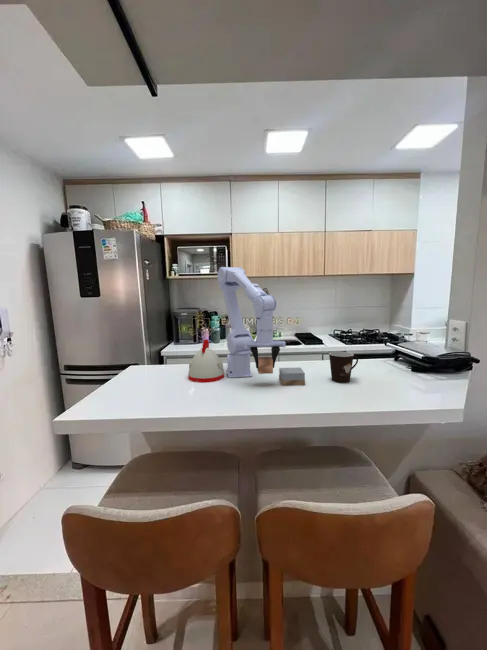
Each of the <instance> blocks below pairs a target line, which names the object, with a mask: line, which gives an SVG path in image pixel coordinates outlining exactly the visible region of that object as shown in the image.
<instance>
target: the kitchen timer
mask: <svg viewBox="0 0 487 650" xmlns="http://www.w3.org/2000/svg"><path fill="white" fill-rule="evenodd" d="M188 365H189V366H188V374H187V375H188V379H189V381H190V382H193V383H214V382H218V381H221V380H223V379H224V378H225V371H224V365H223V359H222V358H220V357H219V355H218V354H217V353H216V352H215V351H214V350H212V349H211V348H210V341H209V339H203V343H202V347H201V348H200V349H199V350H198V351H197V352H196V353H195V355H194V356H193V358H192V359H191V360H190V361H189V364H188Z"/></svg>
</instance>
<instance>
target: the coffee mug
mask: <svg viewBox="0 0 487 650" xmlns="http://www.w3.org/2000/svg"><path fill="white" fill-rule="evenodd" d="M328 355H329V365H330V366H329V367H330V374H331V381H332V382H334V383H339V384H347V383H350V382H351V376H352V370H353V369H354V368H355V367H356V366H357V365H358V363H359V362H358V361H359V357H358V356H357V355H354V353H352V352H348V351H332V352H329V353H328ZM354 358H355V359H356V361H355V363H354V364H353V362H354Z"/></svg>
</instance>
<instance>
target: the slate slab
mask: <svg viewBox="0 0 487 650" xmlns="http://www.w3.org/2000/svg"><path fill="white" fill-rule="evenodd" d="M279 374H280V377H281V379H282V380H305V376H306V375H305V372H304V370H303V369H302V368H301V367H299V366H298V367H279ZM279 374H278V375H279ZM305 381H306V380H305Z"/></svg>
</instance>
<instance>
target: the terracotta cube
mask: <svg viewBox="0 0 487 650" xmlns="http://www.w3.org/2000/svg"><path fill="white" fill-rule="evenodd" d="M256 370H257V372H258V374H259V375H264V374H267V375H268V374H274V368H273V359H272V355H271V356H270V355H269V356H268V355H267V356H258V368H256Z"/></svg>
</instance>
